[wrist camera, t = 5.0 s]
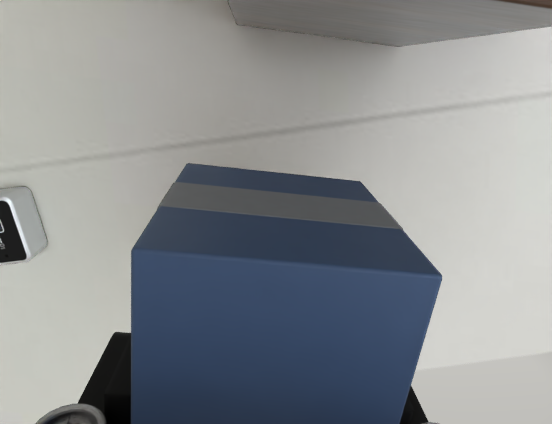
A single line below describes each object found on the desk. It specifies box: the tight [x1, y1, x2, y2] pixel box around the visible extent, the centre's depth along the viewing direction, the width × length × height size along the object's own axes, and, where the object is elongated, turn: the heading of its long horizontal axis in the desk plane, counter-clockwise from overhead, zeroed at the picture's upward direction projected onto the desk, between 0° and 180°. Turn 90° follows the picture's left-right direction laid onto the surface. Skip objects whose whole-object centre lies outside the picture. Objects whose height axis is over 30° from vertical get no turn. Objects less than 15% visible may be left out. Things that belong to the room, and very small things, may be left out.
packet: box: [131, 163, 442, 424], centre depth 10 cm, size 10×4×5 cm, turn 173°
